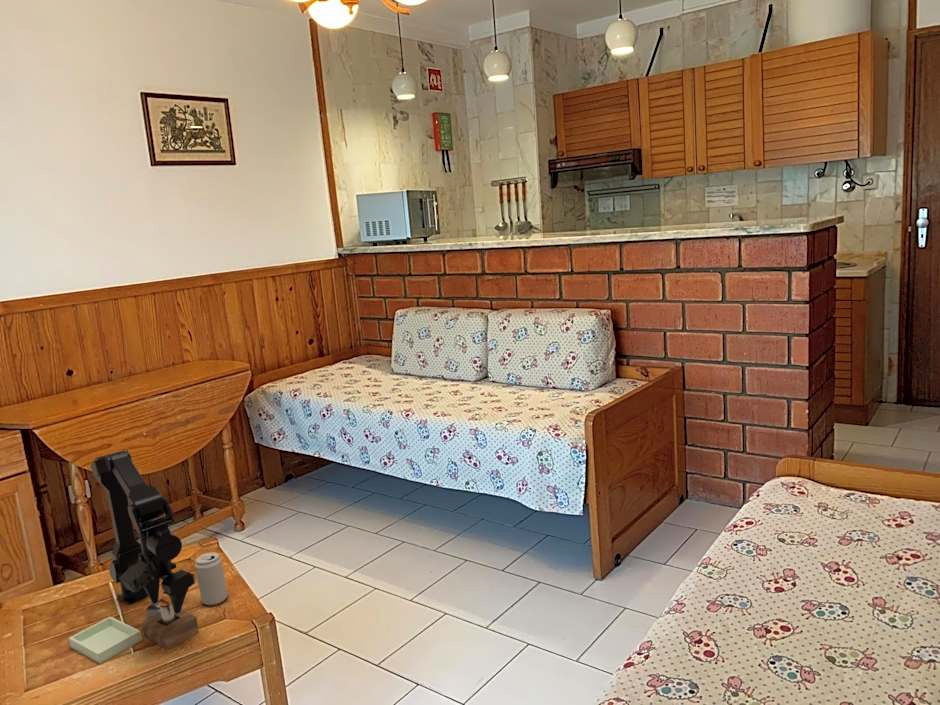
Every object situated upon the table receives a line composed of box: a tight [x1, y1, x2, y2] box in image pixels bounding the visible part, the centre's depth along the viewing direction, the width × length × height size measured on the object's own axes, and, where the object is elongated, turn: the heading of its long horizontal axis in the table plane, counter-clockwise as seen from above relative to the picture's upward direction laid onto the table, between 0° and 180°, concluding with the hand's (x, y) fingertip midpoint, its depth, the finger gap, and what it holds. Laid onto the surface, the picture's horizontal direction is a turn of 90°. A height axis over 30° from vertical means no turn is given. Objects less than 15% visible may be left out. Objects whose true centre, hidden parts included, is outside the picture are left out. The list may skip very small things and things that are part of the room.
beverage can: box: [194, 551, 228, 606], centre depth 189 cm, size 6×6×12 cm
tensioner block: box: [141, 609, 200, 650], centre depth 176 cm, size 10×8×4 cm
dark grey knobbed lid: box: [145, 600, 161, 620], centre depth 185 cm, size 7×7×3 cm
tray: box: [68, 616, 143, 665], centre depth 175 cm, size 13×10×2 cm
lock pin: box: [158, 596, 176, 626], centre depth 175 cm, size 3×3×9 cm
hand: (166, 607), depth 175 cm, fingers open, 9 cm apart
